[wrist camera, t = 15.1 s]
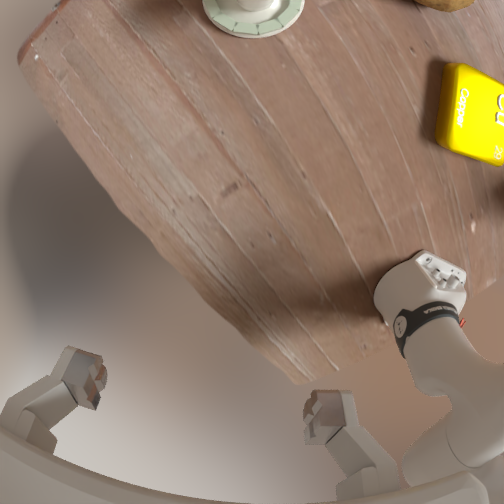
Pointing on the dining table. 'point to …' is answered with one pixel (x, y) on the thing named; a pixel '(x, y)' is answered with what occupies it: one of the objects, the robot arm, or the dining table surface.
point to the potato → (446, 4)
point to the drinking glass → (255, 4)
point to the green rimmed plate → (253, 17)
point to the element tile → (471, 114)
